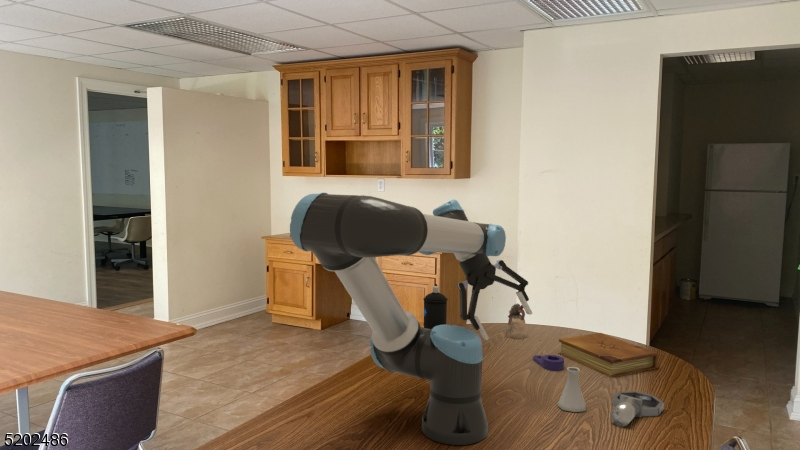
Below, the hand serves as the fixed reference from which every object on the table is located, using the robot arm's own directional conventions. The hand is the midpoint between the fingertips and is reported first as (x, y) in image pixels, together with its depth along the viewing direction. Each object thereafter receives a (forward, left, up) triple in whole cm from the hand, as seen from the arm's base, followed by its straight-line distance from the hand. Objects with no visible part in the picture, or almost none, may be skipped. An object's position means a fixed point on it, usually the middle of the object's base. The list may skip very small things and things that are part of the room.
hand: (508, 326), depth 153 cm
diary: (+44, -12, -19) cm, 49 cm away
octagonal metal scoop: (+9, -30, -18) cm, 36 cm away
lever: (+29, +1, -19) cm, 34 cm away
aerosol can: (+23, +39, -19) cm, 49 cm away
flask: (+3, -17, -19) cm, 25 cm away
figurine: (+50, +22, -19) cm, 57 cm away
